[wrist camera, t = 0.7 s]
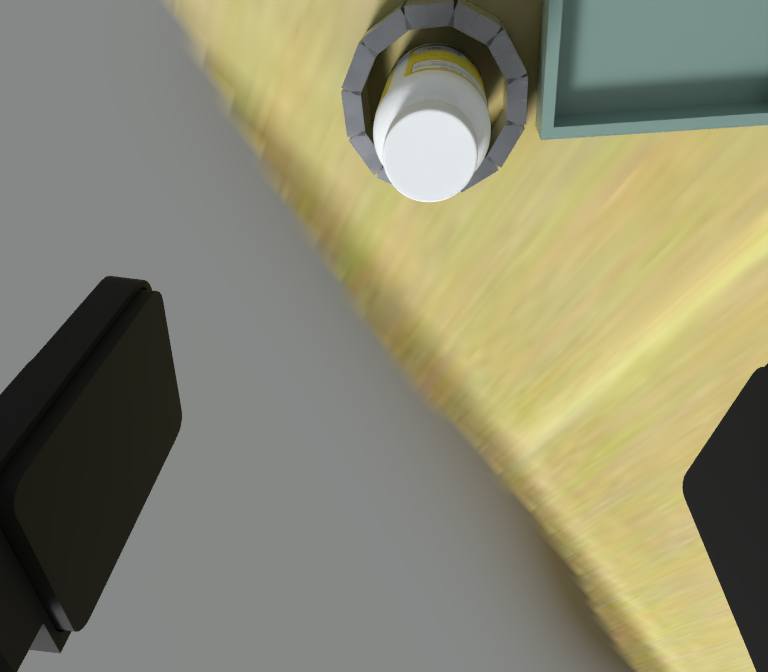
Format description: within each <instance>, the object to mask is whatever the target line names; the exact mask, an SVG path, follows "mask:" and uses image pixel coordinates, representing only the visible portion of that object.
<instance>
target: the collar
mask: <svg viewBox="0 0 768 672" xmlns="http://www.w3.org/2000/svg"><path fill="white" fill-rule="evenodd" d="M445 26H452V27H454V28H455V29H457V30H459V31H461V32H463V33H465V34H467V35H468V36H470V37H472V38H474V39H476V40H478V41H480V42H481V43H483V44H485V45H487V46H488V48H489V50H490V52H491V53H492V55H493V57H494V59H495V61H496V62H497V64H498V66H499V68H500V70H501V71H502V73H503V75H504V96H503V110H502V112H501V114H500V116H499V117H498V119H497V121H496V123H495V124H494V126H493V128H492V130H491V136H490V143H489V147H488V150H487V153H486V155H485V157H484V159H483V161H482V163H481V164H480V166H479V167H478V169H477V170H476V171H475V172H474V174H473V176H472V178H471V179H470V181H469V182H468V184H467V185H466V186H465V187H464V188H463V189H462V190H461V192H463V191H465V190H466V189H468V188H470V187H471V186H473V185H475V184H476V183H478V182H480V181H481V180H483V179H485V178H486V177H488V176H490V175H491V174H493V173H495V172H496V171H498V166H499V167H502V165H503V164H504V162H505V160H506V159H507V157H508V155H509V154H510V152H511V150H512V149H513V147H514V145H515V144H516V142H517V140H518V139H519V137H520V135H521V134H522V132H523V130H524V129H525V128H524V125H526V112H527V90H528V75H527V71H526V68H525V66H524V64H523V61H522V59H521V57H520V56H519V54H518V52H517V50H516V48H515V46H514V44H513V42H512V40H511V39H510V37H509V35H508V33H507V31H506V29H505V27H504V25H503V23H502V22H501V21H499V19H498V17H496V16H494V15H492V14H490V13H489V12H487V11H485V10H483V9H481V8H480V7H478V6H476V5H474V4H472V3H470V2H469V1H467V0H456V1H455V3H454V0H407V2H406V4H405V2H402V3H401V4H400V5H399V6H397V7H396V8H395V9H394V10H392V11H391V12H390V13H389V14H388V15H386V16H385V17H384V18H383V19H381V20H380V21H379V22H378V23H376V24H375V25H374V26H373V27H371V28H370V29H369V30H368V31H367V32H366V34H365V35H364V36H363V38H362V39H361V41H360V42H359V44H358V46H357V49H356V52H355V54H354V57H353V60H352V62H351V65H350V67H349V70H348V73H347V75H346V78H345V81H344V83H343V86H342V88H343V90H342V92H341V94H342V101H343V108H344V116H345V123H346V130H347V137H350V140H349V141H350V143H351V144H352V146H353V147H354V148H355V150H356V151H357V152H358V154H359V155H360V157H361V158H362V159H363V161H364V162H365V163H366V165H367V166H368V167H369V169H370V170H371V172H372V173H373V174H374V175H375V174H376V173H378V175H377V178H379V179H381V180H383V181H385V182H388V183H390V184H392V183H391V182H390V180H389V179H388V177H387V175H386V172H385V169H384V166H383V165H382V163H381V162H380V160H379V158H378V155H377V153H376V150H375V145H374V140H373V126H374V122H373V121H372V120H371V114H370V105H369V96H368V87H367V80H368V78H369V75H370V73H371V70H372V68H373V66H374V63H375V61H376V58H377V56H378V54H379V53H380V52H381V51H383V50H384V49H385V48H387V47H388V46H389V45H390V44H392V43H393V42H394V41H396V40H397V39H398V38H399V37H401V36H402V35H403V34H405V33H406V32H407V31H408V30H414V29H424V28H435V27H445Z"/></svg>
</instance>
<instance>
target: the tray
mask: <svg viewBox="0 0 768 672" xmlns="http://www.w3.org/2000/svg"><path fill="white" fill-rule="evenodd" d="M760 125H768V0H543V4H542V22H541V40H540V57H539V75H538V93H537V110H536V128H537V131H538V133H539V136H540V139H541V140H548V139H563V138H578V137H593V136H609V135H624V134H639V133H654V132H669V131H684V130H700V129H715V128H730V127H745V126H760Z"/></svg>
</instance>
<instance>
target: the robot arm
mask: <svg viewBox="0 0 768 672" xmlns="http://www.w3.org/2000/svg"><path fill="white" fill-rule="evenodd" d="M181 421H182V411H181V404H180V398H179V393H178V387H177V381H176V375H175V369H174V363H173V357H172V351H171V345H170V339H169V334H168V328H167V322H166V317H165V310H164V304H163V299H162V295H161V294H160V292H158V291H152V289H151V286H150V284H149V283H148V282H147V281H145V280H139V279H130V278H122V277H114V276H108V277H105V278H104V279H103V280H102V281H101V282H100V283H99V284H98V285H97V286H96V288H95V289H94V290H93V291H92V292H91V293H90V294H89V295H88V297H87V298H86V299H85V300H84V301H83V302H82V304H81V305H80V306H79V307H78V308H77V309H76V310H75V311H74V313H73V314H72V315H71V316H70V317H69V318H68V319H67V321H66V322H65V323H64V324H63V325H62V326H61V327H60V329H59V330H58V331H57V332H56V333H55V334H54V336H53V337H52V338H51V339H50V340H49V341H48V342H47V344H46V345H45V346H44V347H43V348H42V349H41V350H40V352H39V353H38V354H37V355H36V356H35V357H34V358H33V359H32V360H31V361H30V362H29V363H28V364H27V365H26V366H25V368H23V369H22V371H21V372H20V373H19V374H18V375H17V377H15V379H14V380H13V381H12V382H11V383H10V384H9V385H8V387H7V388H6V389H5V390H4V391H3V392H2V394H1V395H0V672H17V671H18V669H19V667H20V665H21V663H22V661H23V660H24V658H25V656H26V654H27V652H28V650H37V651H45V652H54V653H60V652H61V651H62V649H63V647H64V645H65V643H66V641H67V639H68V637H69V635H70V633H71V631H75V632H76V631H80V630H81V629H82V628H83V627H84V626H85V625H86V623H87V622H88V620H89V618H90V616H91V614H92V612H93V610H94V608H95V606H96V604H97V602H98V600H99V598H100V595H101V593H102V591H103V589H104V587H105V585H106V583H107V581H108V579H109V577H110V574H111V573H112V571H113V568H114V566H115V564H116V562H117V560H118V558H119V556H120V554H121V552H122V549H123V548H124V546H125V543H126V541H127V539H128V537H129V535H130V533H131V531H132V529H133V527H134V525H135V523H136V521H137V518H138V516H139V514H140V512H141V510H142V508H143V506H144V504H145V502H146V500H147V498H148V496H149V494H150V492H151V489H152V487H153V485H154V483H155V481H156V479H157V477H158V475H159V473H160V471H161V469H162V466H163V464H164V462H165V460H166V458H167V456H168V454H169V452H170V450H171V448H172V445H173V444H174V442H175V440H176V437H177V435H178V433H179V430H180V427H181ZM683 494H684V497H685V500H686V502H687V505H688V507H689V510H690V512H691V514H692V517H693V519H694V522H695V524H696V526H697V529H698V531H699V534H700V536H701V539H702V541H703V543H704V546H705V548H706V551H707V553H708V555H709V558H710V560H711V563H712V565H713V568H714V570H715V572H716V575H717V577H718V580H719V582H720V584H721V587H722V589H723V592H724V594H725V597H726V599H727V601H728V604H729V606H730V609H731V611H732V613H733V616H734V618H735V621H736V623H737V626H738V628H739V630H740V633H741V635H742V638H743V640H744V643H745V645H746V647H747V650H748V652H749V655H750V657H751V659H752V662H753V664H754V667H755V669H756V672H768V364H767V365H766V366H765V367H760V368H758V369H757V370H756V371H755V372H754V373H753V374H752V376H751V377H750V379H749V380H748V382H747V383H746V385H745V386H744V388H743V389H742V391H741V392H740V394H739V395H738V397H737V398H736V400H735V401H734V403H733V404H732V405H731V407H730V408H729V410H728V411H727V413H726V414H725V416H724V417H723V419H722V420H721V422H720V423H719V425H718V426H717V428H716V429H715V431H714V432H713V434H712V435H711V437H710V438H709V440H708V441H707V443H706V444H705V446H704V447H703V449H702V450H701V452H700V453H699V455H698V456H697V458H696V459H695V461H694V462H693V464H692V465H691V467H690V468H689V470H688V471H687V473H686V474H685V476H684V480H683Z"/></svg>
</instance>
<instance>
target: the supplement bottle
mask: <svg viewBox="0 0 768 672" xmlns="http://www.w3.org/2000/svg"><path fill="white" fill-rule="evenodd" d="M490 136H491V122H490V115H489V110H488V104H487V99H486V94H485V89H484V85H483V81H482V78H481V74H480V72H479V70H478V68H477V67H476V65H475V63H474V62H473V61H472V60H471V59H470V57H469V56H468V55H466V54H465V53H464V52H463V51H461V50H460V49H458V48H456V47H454V46H451V45H448V44H443V43H429V44H424V45H421V46H418V47H416V48H414V49H412V50H410V51H409V52H407V53H406V54H405V55H404V56H403V57H401V58H400V60H399V61H398V62H397V63H396V65H395V66H394V67H393V69H392V71H391V73H390V75H389V77H388V80H387V82H386V85H385V88H384V91H383V94H382V97H381V100H380V103H379V105H378V108H377V111H376V115H375V119H374V126H373V140H374V145H375V150H376V153H377V155H378V158H379V160H380V162H381V163H382V165H383V166H384V169H385V172H386V175H387V177H388V179H389V180H390V182H391V183H392V185H393V186H394V187H395V188H396V189H397V190H398V191H399V192H401V193H402V194H403V195H405V196H407V197H409V198H411V199H414V200H417V201H421V202H437V201H442V200H445V199H448V198H450V197H452V196H454V195H455V194H457V193H458V192H460V191H461V190H462V189H463V188H464V187H465V186H466V185H467V184H468V182H469V181H470V179H471V178H472V176H473V174H474V172H475V171H476V170H477V169H478V167H479V166H480V164H481V163H482V161H483V159H484V157H485V155H486V153H487V150H488V147H489V143H490Z"/></svg>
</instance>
